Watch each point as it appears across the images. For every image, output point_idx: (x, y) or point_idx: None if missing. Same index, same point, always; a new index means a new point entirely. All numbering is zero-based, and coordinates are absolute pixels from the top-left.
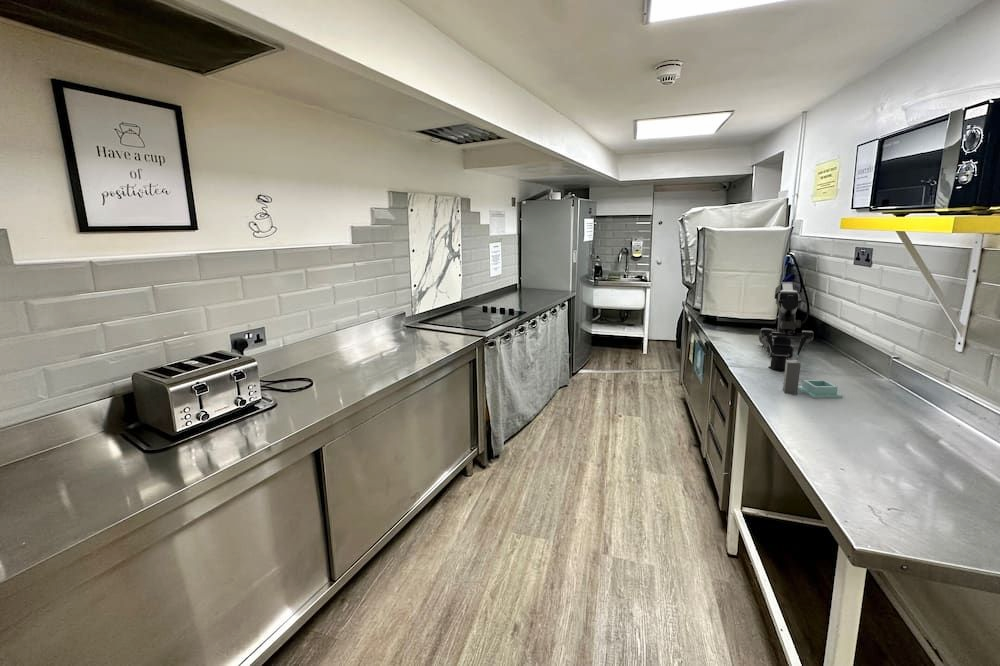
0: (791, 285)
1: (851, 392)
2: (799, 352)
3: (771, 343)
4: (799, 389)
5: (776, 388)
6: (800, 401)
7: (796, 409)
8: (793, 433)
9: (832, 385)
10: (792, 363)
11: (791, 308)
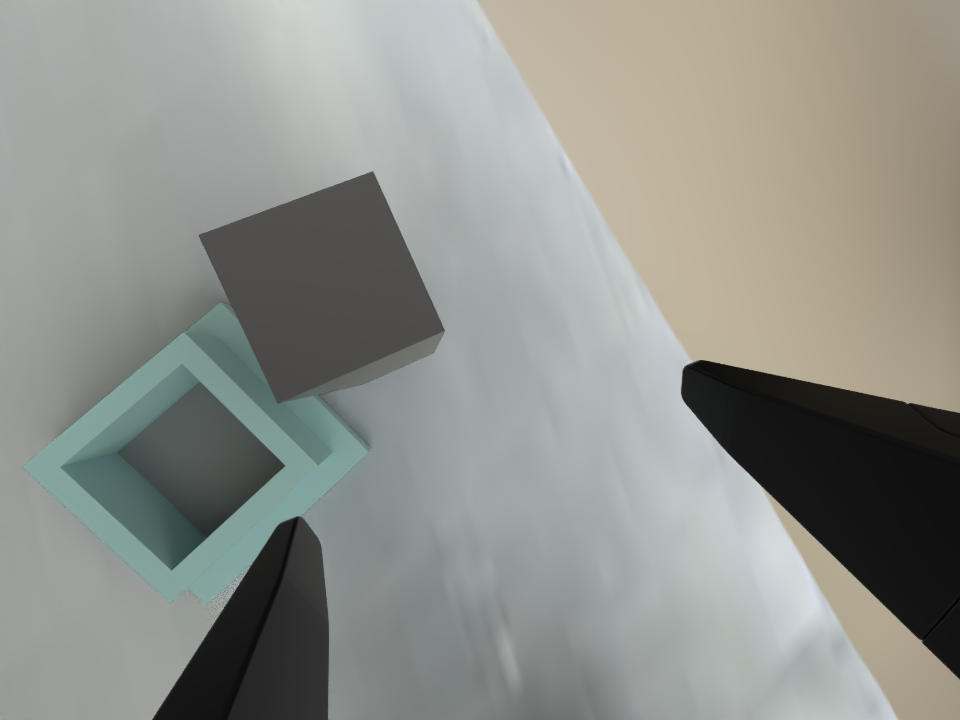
0: None
1: (30, 629)
2: (259, 561)
3: (921, 434)
4: (346, 424)
5: (472, 350)
6: (272, 181)
7: (248, 11)
8: None
9: (71, 480)
10: (312, 198)
11: None
